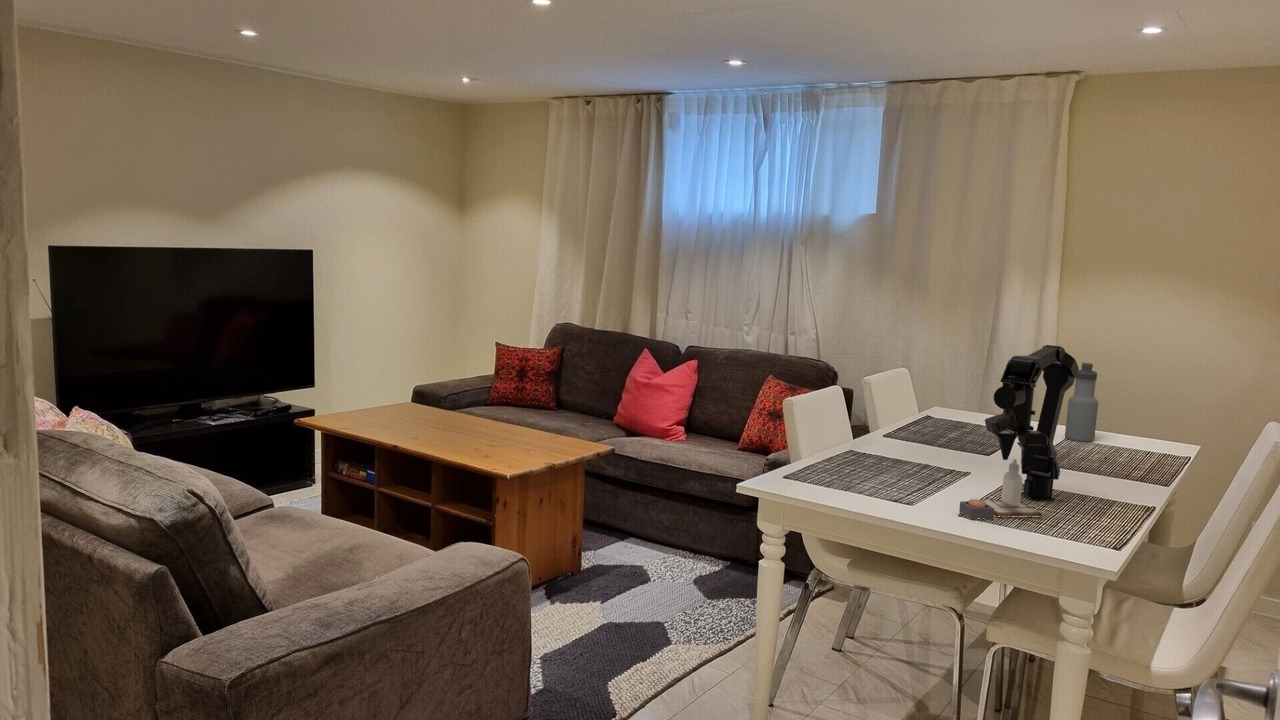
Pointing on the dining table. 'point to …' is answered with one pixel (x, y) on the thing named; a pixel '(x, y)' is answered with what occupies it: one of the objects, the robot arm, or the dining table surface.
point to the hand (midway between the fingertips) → (1014, 464)
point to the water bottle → (1082, 407)
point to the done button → (976, 503)
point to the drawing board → (1012, 509)
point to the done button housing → (976, 511)
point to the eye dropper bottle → (1012, 486)
